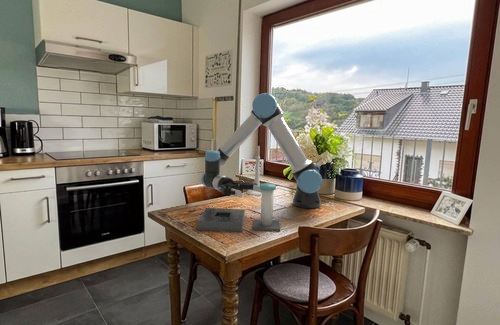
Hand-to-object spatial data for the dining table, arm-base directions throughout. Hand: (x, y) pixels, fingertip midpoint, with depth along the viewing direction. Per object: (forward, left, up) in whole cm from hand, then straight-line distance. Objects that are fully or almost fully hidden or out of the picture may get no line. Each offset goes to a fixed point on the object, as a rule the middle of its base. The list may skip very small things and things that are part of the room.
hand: (252, 192), depth 132 cm
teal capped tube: (-7, +7, -12) cm, 15 cm away
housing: (+12, +6, -13) cm, 19 cm away
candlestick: (-1, -52, -13) cm, 54 cm away
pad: (-7, +7, -13) cm, 16 cm away
